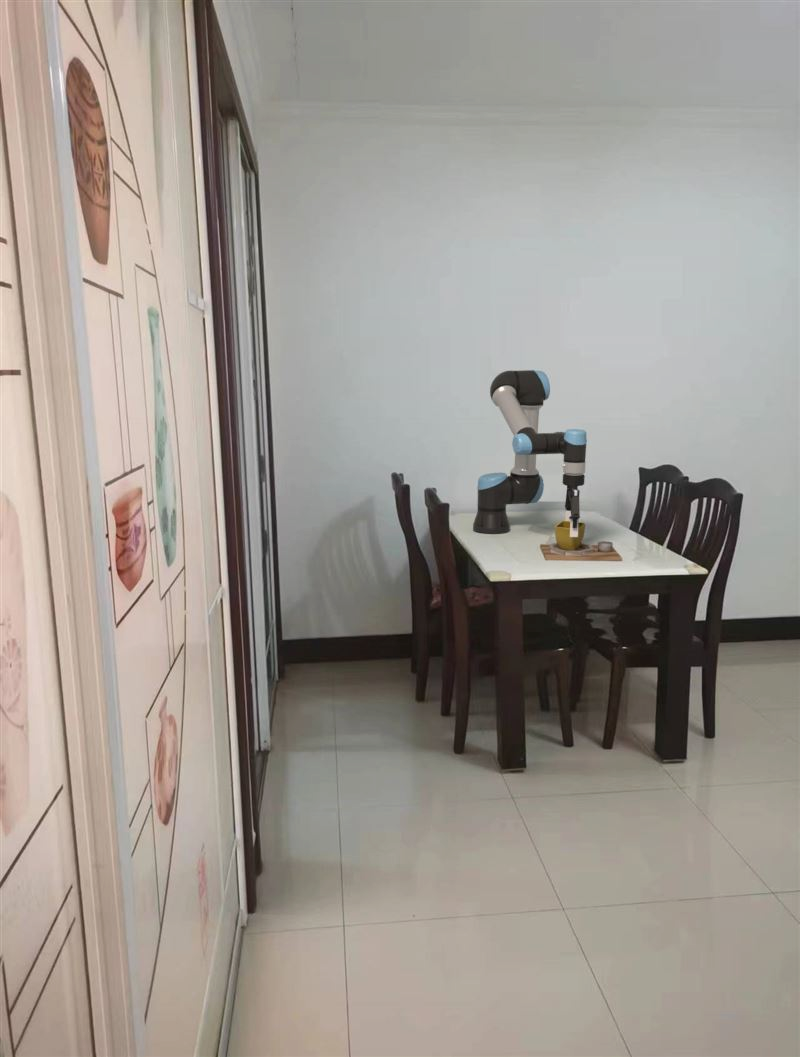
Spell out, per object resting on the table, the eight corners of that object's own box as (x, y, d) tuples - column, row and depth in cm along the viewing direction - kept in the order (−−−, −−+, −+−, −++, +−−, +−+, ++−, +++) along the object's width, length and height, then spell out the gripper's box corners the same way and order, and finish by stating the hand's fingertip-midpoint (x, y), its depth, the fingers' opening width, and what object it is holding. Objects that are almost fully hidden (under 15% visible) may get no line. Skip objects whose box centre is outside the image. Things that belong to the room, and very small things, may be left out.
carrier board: (540, 547, 296) (540, 536, 295) (611, 548, 294) (611, 537, 293) (545, 560, 277) (545, 548, 276) (621, 561, 275) (622, 549, 274)
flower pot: (585, 546, 288) (586, 522, 286) (577, 553, 281) (577, 529, 279) (562, 543, 293) (562, 520, 291) (554, 550, 286) (553, 526, 283)
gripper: (558, 468, 292) (556, 524, 297) (567, 479, 268) (564, 540, 273) (579, 468, 292) (576, 525, 296) (590, 479, 267) (587, 540, 272)
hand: (571, 532), depth 284 cm, fingers open, 13 cm apart
